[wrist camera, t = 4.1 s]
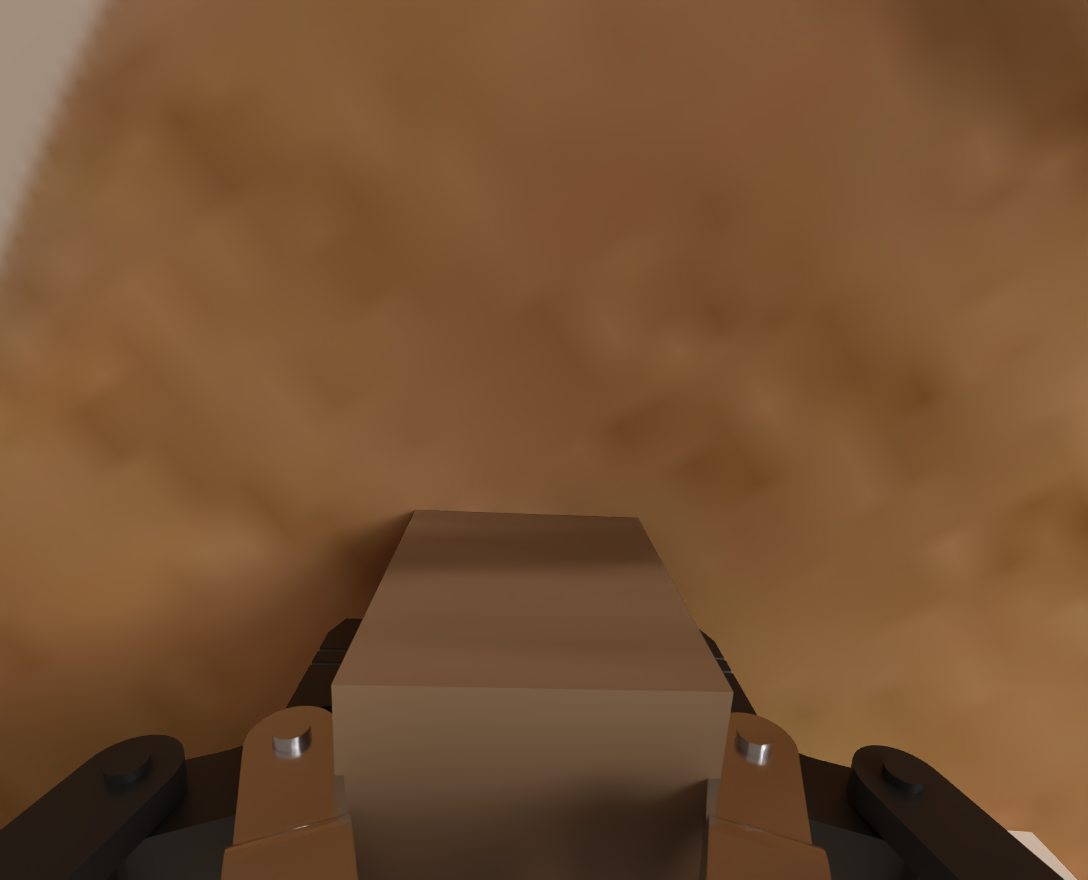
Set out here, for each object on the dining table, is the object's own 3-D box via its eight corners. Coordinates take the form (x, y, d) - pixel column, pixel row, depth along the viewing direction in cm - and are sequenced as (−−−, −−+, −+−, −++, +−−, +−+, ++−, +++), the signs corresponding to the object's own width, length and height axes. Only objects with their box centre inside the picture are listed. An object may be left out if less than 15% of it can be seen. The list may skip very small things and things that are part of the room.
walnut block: (415, 509, 13) (331, 684, 7) (637, 517, 13) (733, 691, 7) (414, 704, 14) (342, 992, 8) (618, 707, 14) (689, 987, 9)
